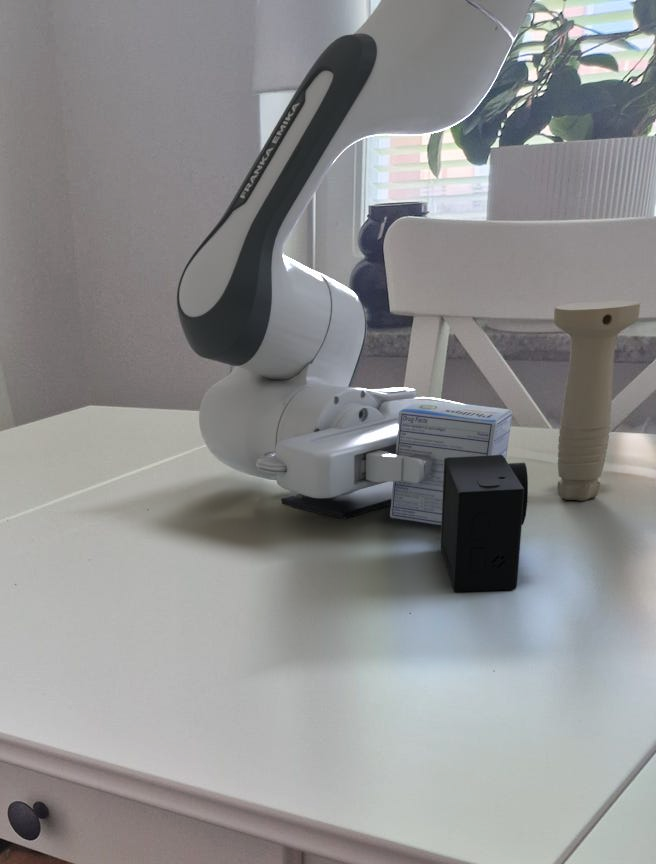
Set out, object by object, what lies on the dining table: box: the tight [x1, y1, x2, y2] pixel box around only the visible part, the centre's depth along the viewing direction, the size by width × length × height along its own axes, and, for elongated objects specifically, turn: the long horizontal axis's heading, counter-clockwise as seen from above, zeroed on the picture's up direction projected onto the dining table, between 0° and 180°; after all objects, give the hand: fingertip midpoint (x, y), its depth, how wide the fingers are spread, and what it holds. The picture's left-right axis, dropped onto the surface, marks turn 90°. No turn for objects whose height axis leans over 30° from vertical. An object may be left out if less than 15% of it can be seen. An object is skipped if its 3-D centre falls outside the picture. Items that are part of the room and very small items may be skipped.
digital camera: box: [440, 455, 529, 593], centre depth 83 cm, size 10×5×7 cm, turn 174°
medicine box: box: [389, 400, 513, 526], centre depth 93 cm, size 8×4×9 cm, turn 59°
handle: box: [553, 299, 641, 502], centre depth 96 cm, size 5×6×15 cm
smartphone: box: [280, 482, 393, 520], centre depth 105 cm, size 14×8×1 cm, turn 127°
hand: (456, 462), depth 92 cm, fingers closed on medicine box, 5 cm apart
